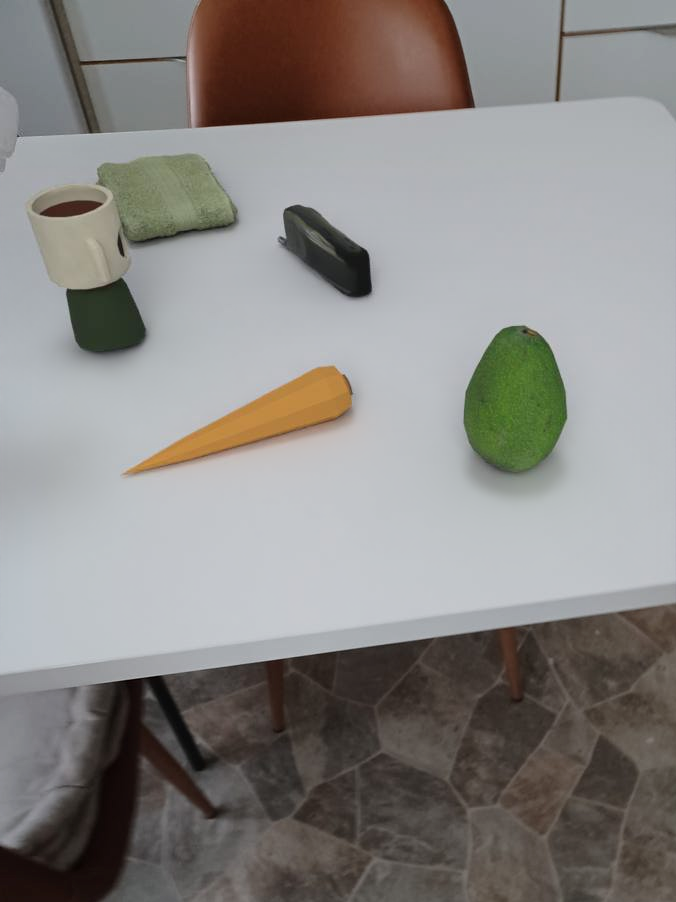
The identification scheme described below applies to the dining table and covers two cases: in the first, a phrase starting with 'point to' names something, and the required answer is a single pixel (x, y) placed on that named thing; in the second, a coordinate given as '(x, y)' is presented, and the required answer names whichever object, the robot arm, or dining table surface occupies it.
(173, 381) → the dining table surface
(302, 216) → the black stapler
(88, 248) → the character mug
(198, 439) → the carrot
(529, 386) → the avocado
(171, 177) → the washcloth
